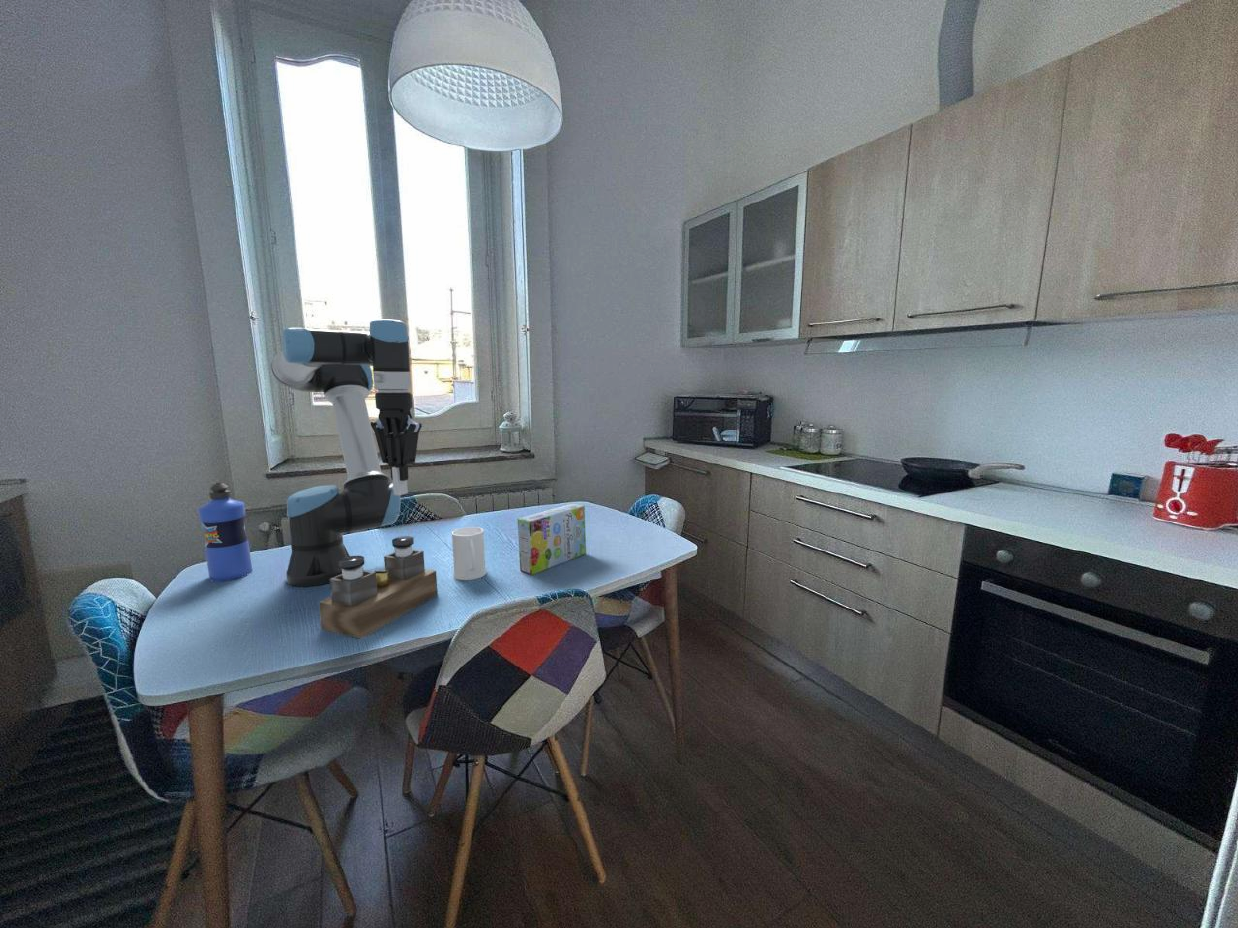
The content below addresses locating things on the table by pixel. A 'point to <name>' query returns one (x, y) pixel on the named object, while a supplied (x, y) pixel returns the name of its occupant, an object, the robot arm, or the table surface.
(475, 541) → the mug
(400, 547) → the knob far
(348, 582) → the mount
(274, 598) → the table surface
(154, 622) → the table surface
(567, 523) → the snack box
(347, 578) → the knob near
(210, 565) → the water bottle
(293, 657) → the table surface
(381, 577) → the screw
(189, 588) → the table surface
